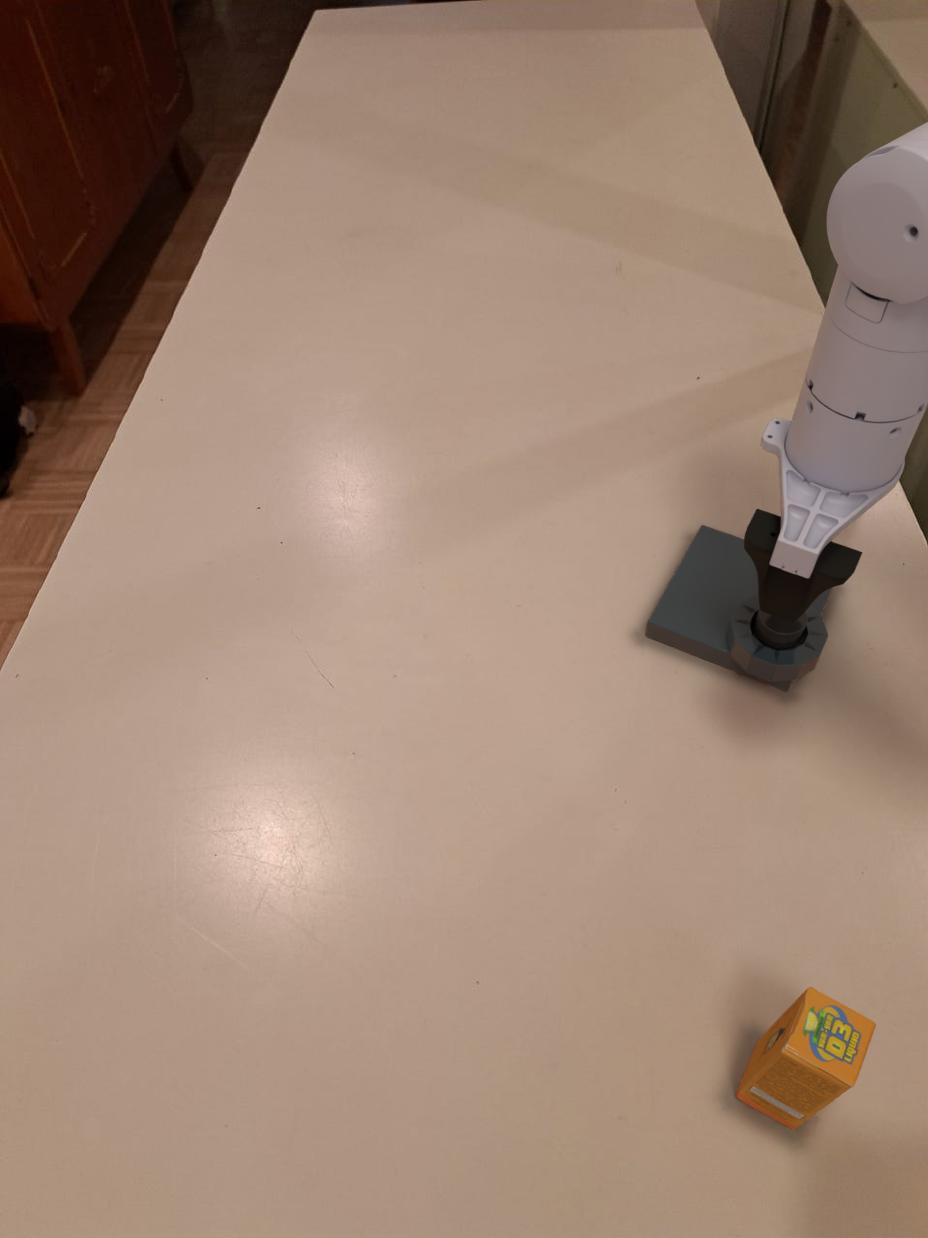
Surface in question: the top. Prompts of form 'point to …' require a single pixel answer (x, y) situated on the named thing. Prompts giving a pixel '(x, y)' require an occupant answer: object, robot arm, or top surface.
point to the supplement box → (806, 1059)
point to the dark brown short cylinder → (779, 631)
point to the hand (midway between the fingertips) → (799, 566)
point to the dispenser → (730, 614)
